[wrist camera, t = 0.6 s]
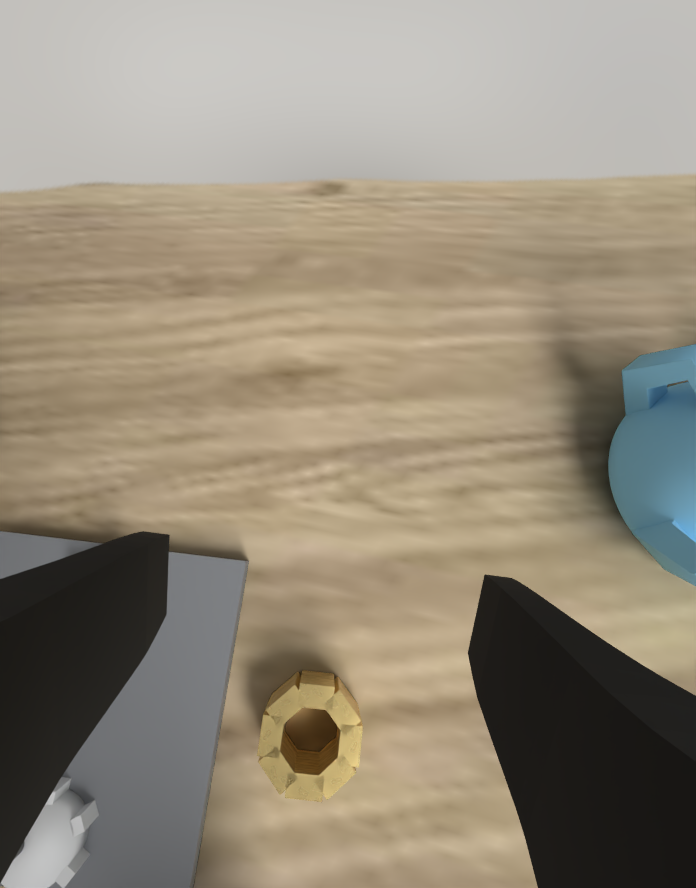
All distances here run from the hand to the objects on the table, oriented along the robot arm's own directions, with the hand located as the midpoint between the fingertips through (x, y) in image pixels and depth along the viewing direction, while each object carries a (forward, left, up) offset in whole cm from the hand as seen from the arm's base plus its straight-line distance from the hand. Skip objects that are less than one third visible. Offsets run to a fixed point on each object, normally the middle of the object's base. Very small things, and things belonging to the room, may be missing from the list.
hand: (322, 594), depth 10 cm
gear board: (-9, +13, -20) cm, 26 cm away
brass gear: (-9, 0, -20) cm, 22 cm away
